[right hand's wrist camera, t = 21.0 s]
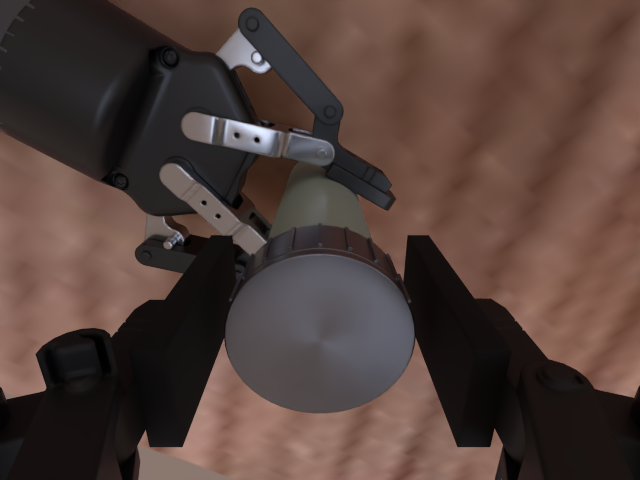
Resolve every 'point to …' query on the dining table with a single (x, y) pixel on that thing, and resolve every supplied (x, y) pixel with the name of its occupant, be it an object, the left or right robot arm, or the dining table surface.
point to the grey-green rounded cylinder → (317, 203)
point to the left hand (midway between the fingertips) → (362, 238)
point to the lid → (319, 321)
